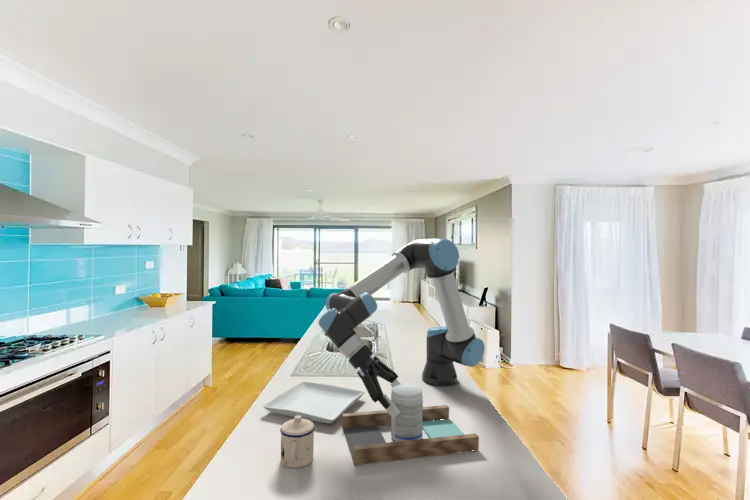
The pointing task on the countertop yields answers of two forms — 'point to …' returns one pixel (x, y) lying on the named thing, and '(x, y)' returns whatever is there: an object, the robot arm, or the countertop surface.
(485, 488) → the countertop surface
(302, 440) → the teacup with lid
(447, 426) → the pad
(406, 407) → the supplement tub
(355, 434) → the trap mat
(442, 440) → the channel rails
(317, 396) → the square plate
